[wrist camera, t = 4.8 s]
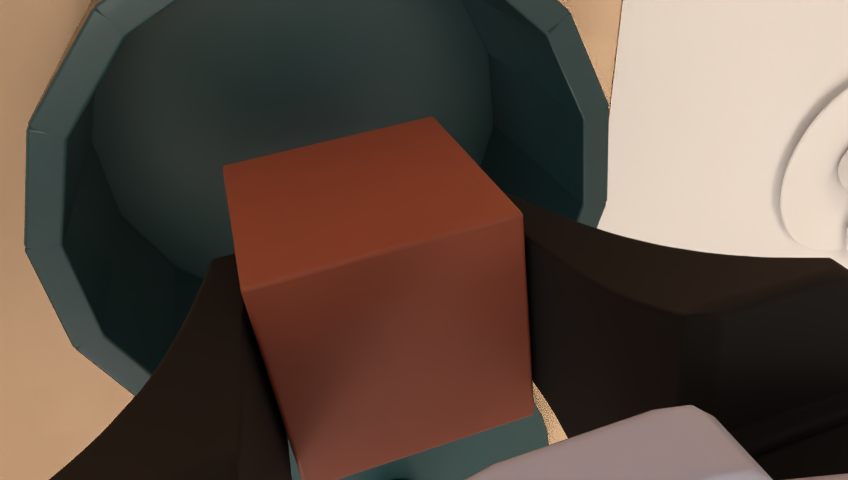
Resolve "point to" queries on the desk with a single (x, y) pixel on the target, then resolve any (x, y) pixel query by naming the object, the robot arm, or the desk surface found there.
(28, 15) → the desk surface
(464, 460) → the lid
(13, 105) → the desk surface
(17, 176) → the desk surface
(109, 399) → the desk surface
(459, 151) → the block
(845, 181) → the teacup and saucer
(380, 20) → the pot
